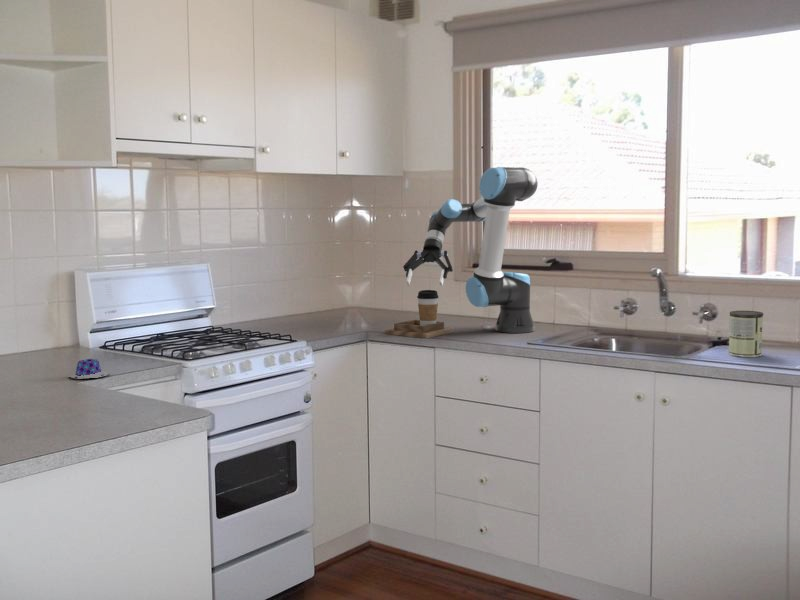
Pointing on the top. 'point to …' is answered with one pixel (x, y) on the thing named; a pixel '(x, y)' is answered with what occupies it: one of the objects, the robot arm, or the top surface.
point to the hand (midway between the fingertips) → (424, 283)
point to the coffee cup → (427, 306)
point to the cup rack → (418, 329)
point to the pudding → (87, 367)
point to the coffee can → (745, 333)
